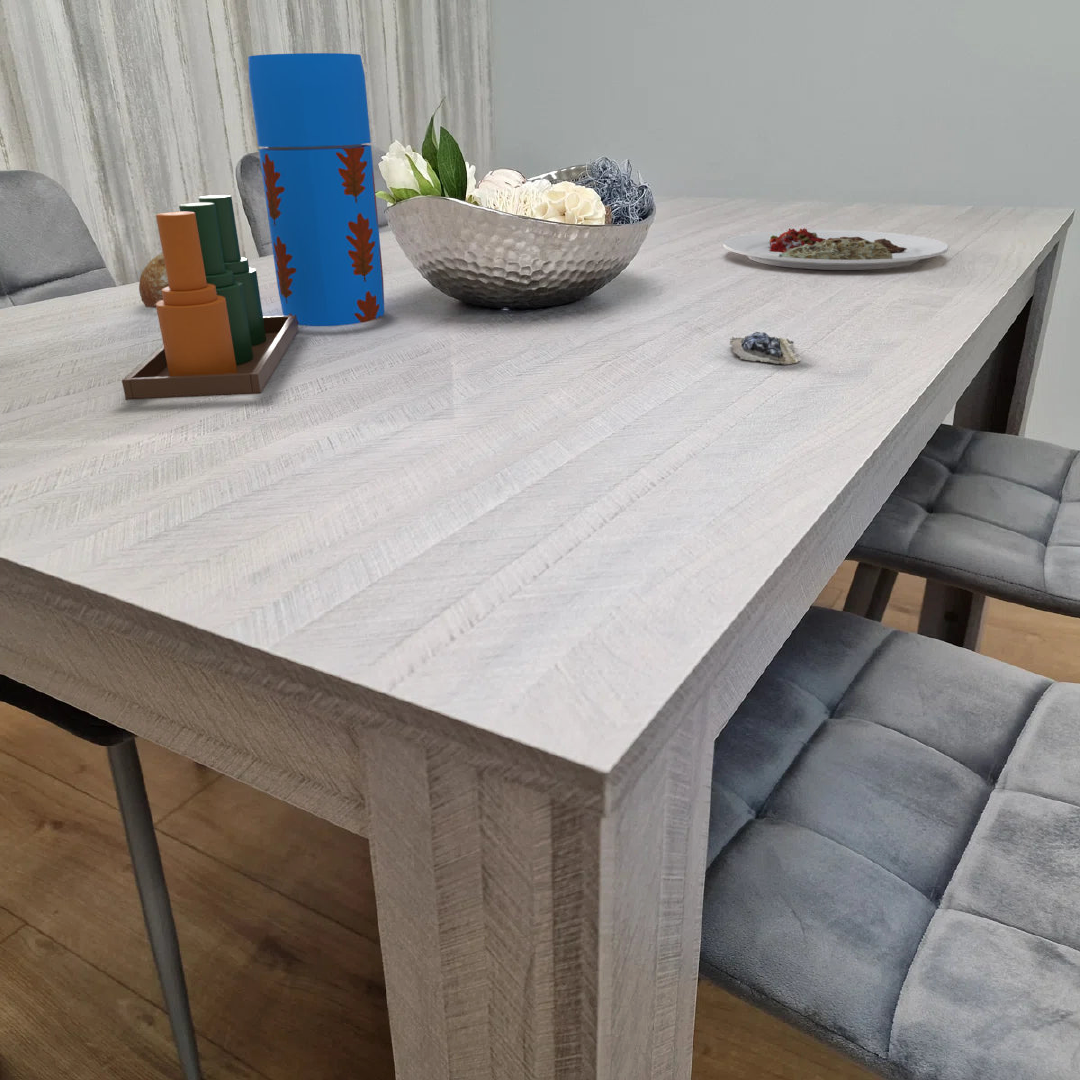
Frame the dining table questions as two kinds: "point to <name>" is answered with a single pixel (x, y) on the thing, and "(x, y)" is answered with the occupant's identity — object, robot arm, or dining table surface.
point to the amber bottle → (191, 304)
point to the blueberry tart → (765, 349)
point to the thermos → (319, 185)
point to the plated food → (835, 249)
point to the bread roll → (153, 281)
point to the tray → (248, 380)
